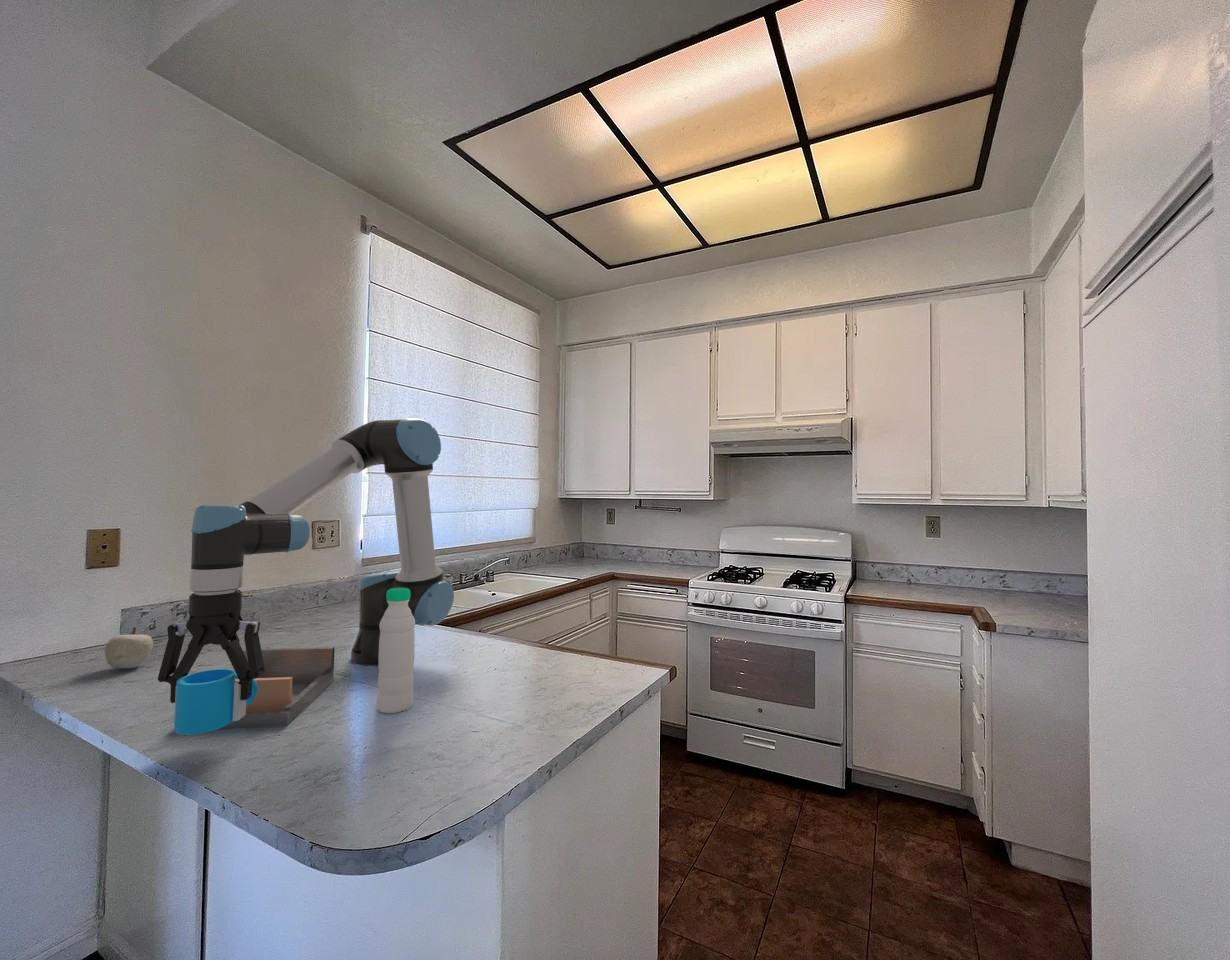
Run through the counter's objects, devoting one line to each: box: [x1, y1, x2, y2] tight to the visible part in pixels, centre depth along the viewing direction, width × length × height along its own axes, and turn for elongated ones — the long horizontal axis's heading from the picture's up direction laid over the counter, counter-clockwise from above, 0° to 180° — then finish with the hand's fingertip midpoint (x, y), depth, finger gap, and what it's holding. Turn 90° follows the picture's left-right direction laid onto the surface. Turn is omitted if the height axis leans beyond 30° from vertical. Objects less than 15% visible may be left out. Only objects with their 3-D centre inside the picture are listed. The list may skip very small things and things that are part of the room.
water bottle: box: [376, 588, 416, 715], centre depth 110 cm, size 7×7×25 cm
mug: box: [173, 668, 258, 736], centre depth 93 cm, size 12×8×8 cm
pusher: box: [235, 677, 293, 712], centre depth 105 cm, size 16×4×7 cm, turn 100°
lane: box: [173, 646, 335, 732], centre depth 111 cm, size 19×24×8 cm
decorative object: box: [104, 626, 154, 670], centre depth 131 cm, size 9×9×10 cm
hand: (210, 719), depth 92 cm, fingers closed on mug, 8 cm apart
